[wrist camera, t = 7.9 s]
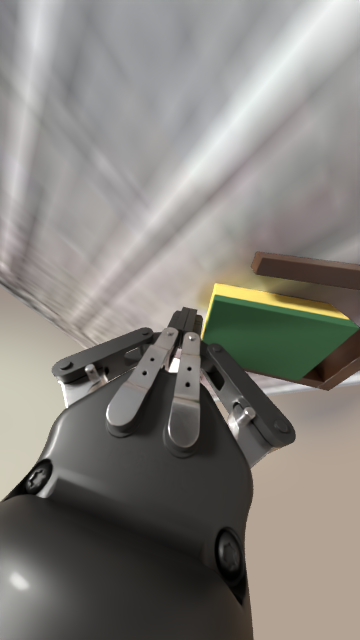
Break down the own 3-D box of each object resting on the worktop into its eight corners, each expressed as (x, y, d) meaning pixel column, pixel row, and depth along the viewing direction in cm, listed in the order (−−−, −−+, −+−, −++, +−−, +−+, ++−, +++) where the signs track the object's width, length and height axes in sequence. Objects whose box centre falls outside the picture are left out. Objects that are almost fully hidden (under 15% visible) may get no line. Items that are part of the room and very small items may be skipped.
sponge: (215, 282, 13) (214, 299, 11) (330, 303, 12) (361, 328, 10) (201, 335, 18) (198, 356, 15) (285, 354, 16) (298, 381, 14)
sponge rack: (256, 251, 11) (262, 257, 10) (442, 275, 10) (485, 287, 8) (218, 352, 19) (218, 364, 17) (318, 374, 17) (328, 391, 16)
